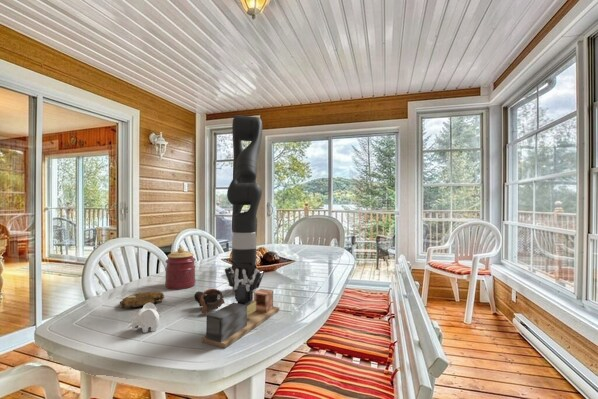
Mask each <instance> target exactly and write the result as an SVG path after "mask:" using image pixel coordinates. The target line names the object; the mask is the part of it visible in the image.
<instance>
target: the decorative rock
mask: <svg viewBox="0 0 598 399" xmlns="http://www.w3.org/2000/svg"><path fill="white" fill-rule="evenodd" d="M164 300H165V295H164V293H163V292H161V291H152V292H151V291H146V292H145V291H142V292H137V293H132V294H130V295H128V296H126V297H124V298H123V299H122V300H121V301H119V304H120V305H119V307H120V306H121V307H120V308H125V309H131V308H132V309H133V308H140V307H142V306H144V305H145V304H147V303H149V302H150V303H153V304H159V303H162V302H163V301H164Z"/></svg>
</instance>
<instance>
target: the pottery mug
mask: <svg viewBox="0 0 598 399" xmlns="http://www.w3.org/2000/svg"><path fill="white" fill-rule="evenodd" d="M193 297H194V300H195V301H196V302H197V303H198V304H199V307H202V308H201V310H200V311H201V313H202V314H203V315H206V313H207V312H212V311H215V310H219V308H220V307H221V306H222V305H223V304H225V300H224V298H225V296H224V294H223V292H222V291H221V290H219V289H216V288H207V289H206V290H204V291H196V292H195V293H194V295H193ZM218 297H219V298H218Z"/></svg>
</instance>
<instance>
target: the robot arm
mask: <svg viewBox="0 0 598 399" xmlns="http://www.w3.org/2000/svg"><path fill="white" fill-rule="evenodd" d="M231 130H232V147H233V150H232V151H233V152H232V153H233V162H232V163H233V164H232V179H231V182H230V184H229V186H228V188H227V191H226V192H227V193H226V199H227V200H228V202H229V203H230V205H232V214H231V215H232V217H231V232H232V238H231V261H232V265H231V266H229V267H227V268H225V269H224V272H225V275H226V278H227V281H228V284H229V287H232V291H234V299H235V301H236V302H238V286H239V285H242V284H244V285H246V290H247V291H246V303H250V302H251V301H252V300H253V301H254V292H256V291H257V289H258V288H259V287H260V285H261V282H262V279H263V277H264V275H265V271H264V270H259V269H258V267H257V246H258V244H257V231H258V217H257V213H258V208H259V205H260V202H261V199H262V194H263V193H262V187H261V186H260V184H258V183H256V181H257V180H256V179H257V177H258V176H257V174H258V173H257V172H258V170H257V169H258V159H259V158H258V157H259V153H260V148H261V143H262V137H263V121H262V119H261V118H260V117H258V116H249V115H237V114H236V115H234V117H233V119H232V128H231ZM242 142H250V143H249V144H248V145H247V146H246V147H245V148H243V144H242ZM244 206H249V209H247V210H246V211H242V210H243V207H244Z"/></svg>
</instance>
